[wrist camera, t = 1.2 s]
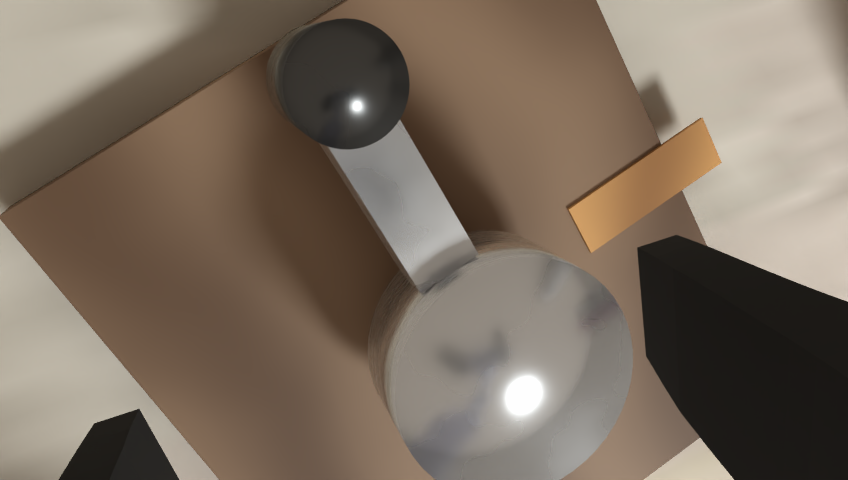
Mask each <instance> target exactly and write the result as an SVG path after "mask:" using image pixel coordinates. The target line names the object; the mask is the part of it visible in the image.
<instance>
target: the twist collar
mask: <svg viewBox="0 0 848 480" xmlns="http://www.w3.org/2000/svg"><path fill="white" fill-rule="evenodd" d="M266 84H267V90H268V94H269V96H270V99H271V101H272V103H273V105H274V107H275V108H276V110H277V111H278V112H279V114H280V115H281V116H282V117H283V118H284V119H286V120H287V121H288V122H289V123H291V124H292V125H293V126H295V127H296V128H298V129H299V130H300V131H302V132H303V133H304V134H306V135H307V136H309V137H310V138H311V139H313V140H315V141H316V142H318V143H319V144H320V145H321V147H322V148H323V150H324V152H325V153H326V155H327V156H328V158H329V159H330V161H331V163H332V164H333V166H334V167H335V169H336V170H337V172H338V174H339V175H340V177H341V178H342V180H343V181H344V183H345V185H346V186H347V188H348V189H349V191H350V192H351V194H352V196H353V197H354V199H355V200H356V202H357V203H358V205H359V207H360V208H361V210H362V211H363V213H364V214H365V216H366V218H367V219H368V221H369V222H370V224H371V226H372V227H373V229H374V230H375V232H376V233H377V235H378V237H379V238H380V240H381V241H382V243H383V244H384V246H385V248H386V249H387V251H388V252H389V254H390V255H391V257H392V259H393V260H394V262H395V263H396V265H397V266H398V268H399V271H398V273H397V274H396V275H395V276H394V278H393V279H392V280H391V281H390V283H389V284H388V286H387V287H386V289H385V291H384V292H383V294H382V296H381V298H380V300H379V302H378V304H377V306H376V309H375V311H374V315H373V318H372V321H371V325H370V330H369V336H368V362H369V369H370V373H371V377H372V381H373V383H374V386H375V388H376V391H377V393H378V395H379V397H380V399H381V400H382V402H383V404H384V406H385V408H386V410H387V411H388V413H389V415H390V417H391V419H392V420H393V422H394V424H395V426H396V428H397V429H398V431H399V433H400V435H401V437H402V439H403V440H404V442H405V444H406V446H407V447H408V449H409V451H410V452H411V454H412V456H413V457H414V459H415V460H416V461H417V462H418V463H419V465H420V466H421V467H422V468H423V469H424V470H425V471H426V472H427V473H428V474H430V475H431V476H432V477H433V478H434V479H436V480H560V479H562V478H563V477H565V476H566V475H568V474H569V473H571V472H572V471H574V470H575V469H576V468H577V467H579V466H580V465H581V464H582V463H584V462H585V461H586V460H587V459H588V458H589V457H590V456H591V455H592V454H593V453H594V452H595V451H596V450H597V449H598V447H599V446H600V445H601V444H602V442H603V441H604V440H605V439H606V437H607V436H608V434H609V433H610V431H611V430H612V428H613V426H614V425H615V423H616V421H617V419H618V417H619V415H620V413H621V411H622V409H623V406H624V403H625V401H626V398H627V395H628V391H629V387H630V383H631V377H632V368H633V349H632V341H631V335H630V331H629V328H628V324H627V321H626V319H625V316H624V314H623V312H622V309H621V308H620V306H619V304H618V303H617V301H616V300H615V298H614V296H613V295H612V294H611V293H610V292H609V291H608V289H607V288H606V287H605V286H604V285H603V284H602V283H601V282H599V281H598V280H597V279H596V278H595V277H594V276H592V275H590V274H589V273H587V272H586V271H584V270H582V269H581V268H579V267H577V266H575V265H574V264H572V263H570V262H568V261H566V260H565V259H563V258H561V257H559V256H557V255H556V254H554V253H552V252H550V251H549V250H547V249H545V248H543V247H541V246H540V245H538V244H536V243H534V242H532V241H531V240H528V239H526V238H524V237H521V236H519V235H515V234H512V233H508V232H503V231H495V230H477V231H470V232H465V230H464V228H463V227H462V225H461V223H460V221H459V220H458V218H457V216H456V215H455V213H454V211H453V209H452V208H451V206H450V204H449V203H448V201H447V199H446V197H445V196H444V194H443V192H442V191H441V189H440V187H439V185H438V184H437V182H436V180H435V179H434V177H433V175H432V173H431V172H430V170H429V168H428V167H427V165H426V163H425V162H424V160H423V158H422V156H421V155H420V153H419V151H418V150H417V148H416V146H415V144H414V143H413V141H412V139H411V138H410V136H409V134H408V132H407V131H406V129H405V127H404V126H403V124H402V122H401V120H400V118H401V117H402V115H403V113H404V110H405V108H406V105H407V101H408V96H409V87H410V82H409V73H408V68H407V65H406V62H405V59H404V57H403V55H402V53H401V51H400V49H399V48H398V46H397V45H396V43H395V42H394V41H393V40H392V39H391V38H390V37H389V36H388V35H387V34H386V33H385V32H384V31H382V30H381V29H379V28H378V27H376V26H374V25H372V24H370V23H368V22H365V21H362V20H357V19H349V18H342V19H334V20H329V21H324V22H319V23H314V24H309V25H304V26H301V27H298V28H296V29H294V30H292V31H291V32H289V33H288V34H286V35H285V36H284V37H283V38H282V39H281V40H280V41H279V42H278V43H277V45H276V46H275V48H274V49H273V51H272V53H271V55H270V57H269V60H268V64H267V70H266Z"/></svg>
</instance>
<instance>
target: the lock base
mask: <svg viewBox="0 0 848 480" xmlns="http://www.w3.org/2000/svg"><path fill="white" fill-rule="evenodd" d="M342 18H349V19H357V20H362V21H365V22H368V23H370V24H372V25H374V26H376V27H378V28H379V29H381V30H382V31H384V32H385V33H386V34H387V35H388V36H389V37H390V38H391V39H392V40H393V41H394V42H395V43H396V45H397V46H398V48H399V49H400V51H401V53H402V55H403V57H404V59H405V62H406V65H407V68H408V73H409V82H410V87H409V96H408V101H407V105H406V108H405V110H404V113H403V115H402V117H401V118H400V120H401V122H402V124H403V126H404V127H405V129H406V131H407V132H408V134H409V136H410V138H411V139H412V141H413V143H414V144H415V146H416V148H417V150H418V151H419V153H420V155H421V156H422V158H423V160H424V162H425V163H426V165H427V167H428V168H429V170H430V172H431V173H432V175H433V177H434V179H435V180H436V182H437V184H438V185H439V187H440V189H441V191H442V192H443V194H444V196H445V197H446V199H447V201H448V203H449V204H450V206H451V208H452V209H453V211H454V213H455V215H456V216H457V218H458V220H459V221H460V223H461V225H462V227H463V228H464V230H465V232H470V231H477V230H495V231H503V232H508V233H512V234H515V235H519V236H521V237H524V238H526V239H528V240H531V241H532V242H534V243H536V244H538V245H540V246H541V247H543V248H545V249H547V250H549V251H550V252H552V253H554V254H556V255H557V256H559V257H561V258H563V259H565V260H566V261H568V262H570V263H572V264H574V265H575V266H577V267H579V268H581V269H582V270H584V271H586V272H587V273H589V274H590V275H592V276H594V277H595V278H596V279H597V280H598V281H599V282H601V283H602V284H603V285H604V286H605V287H606V288H607V289H608V291H609V292H610V293H611V294H612V295H613V296H614V298H615V300H616V301H617V303H618V304H619V306H620V308H621V309H622V312H623V314H624V316H625V319H626V321H627V324H628V328H629V331H630V335H631V341H632V349H633V368H632V377H631V383H630V387H629V391H628V395H627V398H626V401H625V403H624V406H623V409H622V411H621V413H620V415H619V417H618V419H617V421H616V423H615V425H614V426H613V428H612V430H611V431H610V433H609V434H608V436H607V437H606V439H605V440H604V441H603V442H602V444H601V445H600V446H599V447H598V449H597V450H596V451H595V452H594V453H593V454H592V455H591V456H590V457H589V458H588V459H587V460H586V461H585V462H584V463H582V464H581V465H580V466H579V467H577V468H576V469H575V470H574V471H572V472H571V473H569V474H568V475H566V476H565V477H563V478H562V479H560V480H643V479H645V478H646V477H648V476H649V475H650V474H652V473H653V472H654V471H656V470H657V469H658V468H660V467H661V466H662V465H664V464H665V463H666V462H668V461H669V460H670V459H672V458H673V457H674V456H676V455H677V454H678V453H680V452H681V451H682V450H684V449H685V448H686V447H688V446H689V445H690V444H692V443H693V442H694V441H696V440H697V439H698V438H700V437H699V435H698V434H697V433H696V432H695V430H694V429H693V428H692V427H691V425H690V424H689V423H688V421H687V420H686V419H685V418H684V416H683V415H682V414H681V413H680V411H679V409H678V408H677V406H676V405H675V403H674V401H673V400H672V398H671V397H670V395H669V394H668V392H667V390H666V389H665V387H664V386H663V384H662V382H661V380H660V379H659V377H658V375H657V374H656V372H655V370H654V369H653V367H652V365H651V364H650V362H649V360H648V359H647V357H646V350H645V338H644V326H643V314H642V302H641V289H640V277H639V265H638V253H637V247H640V246H643V245H646V244H650V243H653V242H656V241H659V240H662V239H665V238H668V237H671V236H674V235H679V236H682V237H684V238H687V239H690V240H693V241H695V242H698V243H700V244H703V245H705V246H707V245H706V243H705V241H704V238H703V236H702V234H701V232H700V229H699V227H698V225H697V223H696V221H695V218H694V216H693V214H692V212H691V209H690V207H689V205H688V203H687V201H686V198H685V196H684V194H683V192H682V190H683V189H684V188H686V187H687V186H688V185H690V184H691V183H693V182H694V181H696V180H697V179H699V178H700V177H701V176H703V175H704V174H706V173H707V172H709V171H710V170H711V169H713V168H714V167H716V166H717V165H719V164H720V163H721V160H720V158H719V156H718V153H717V151H716V149H715V146H714V144H713V141H712V139H711V137H710V134H709V132H708V130H707V127H706V125H705V123H704V120H703V118H699V119H698V120H696V121H695V122H694V123H692V124H691V125H689V126H688V127H686V128H685V129H683V130H682V131H680V132H679V133H677V134H676V135H675V136H673V137H672V138H670V139H669V140H667V141H666V142H664V143H663V144H661V143H660V141H659V139H658V136H657V134H656V132H655V130H654V128H653V125H652V123H651V121H650V119H649V116H648V114H647V112H646V110H645V108H644V105H643V103H642V101H641V99H640V97H639V94H638V92H637V90H636V88H635V85H634V83H633V81H632V79H631V77H630V74H629V72H628V70H627V68H626V66H625V63H624V61H623V59H622V57H621V54H620V52H619V50H618V48H617V46H616V43H615V41H614V39H613V37H612V34H611V32H610V30H609V28H608V26H607V23H606V21H605V19H604V17H603V15H602V12H601V10H600V8H599V6H598V3H597V1H596V0H343V1H342V2H340V3H339V4H337V5H335V6H334V7H332V8H331V9H329V10H327V11H326V12H324V13H322V14H321V15H319V16H318V17H316V18H314V19H313V20H311V21H310V22H308V23H306V24H305V25H309V24H314V23H319V22H324V21H329V20H334V19H342ZM303 26H304V25H303ZM280 40H281V39H280ZM280 40H279V41H280ZM279 41H277V42H276V43H274V44H272V45H271V46H269V47H268V48H266V49H264V50H263V51H261V52H259V53H258V54H256V55H255V56H253V57H251V58H250V59H248V60H246V61H245V62H243V63H242V64H240V65H238V66H237V67H235V68H234V69H232V70H230V71H229V72H227V73H225V74H224V75H222V76H221V77H219V78H217V79H216V80H214V81H213V82H211V83H209V84H208V85H206V86H204V87H203V88H201V89H200V90H198V91H196V92H195V93H193V94H192V95H190V96H188V97H187V98H185V99H183V100H182V101H180V102H179V103H177V104H175V105H174V106H172V107H171V108H169V109H167V110H166V111H164V112H162V113H161V114H159V115H158V116H156V117H154V118H153V119H151V120H150V121H148V122H146V123H145V124H143V125H141V126H140V127H138V128H137V129H135V130H133V131H132V132H130V133H129V134H127V135H125V136H124V137H122V138H120V139H119V140H117V141H116V142H114V143H112V144H111V145H109V146H108V147H106V148H104V149H103V150H101V151H99V152H98V153H96V154H95V155H93V156H91V157H90V158H88V159H87V160H85V161H83V162H82V163H80V164H78V165H77V166H75V167H74V168H72V169H70V170H69V171H67V172H66V173H64V174H62V175H61V176H59V177H57V178H56V179H54V180H53V181H51V182H49V183H48V184H46V185H45V186H43V187H41V188H40V189H38V190H36V191H35V192H33V193H32V194H30V195H28V196H27V197H25V198H24V199H22V200H20V201H19V202H17V203H15V204H14V205H12V206H11V207H9V208H8V209H7V210H6V211H5V212H3V213H2V214H1V215H0V219H1V221H2V222H3V223H4V224H5V225H6V227H7V228H8V229H9V230H10V231H11V233H12V234H13V235H14V236H15V237H16V238H17V240H18V241H19V242H20V243H21V244H22V246H23V247H24V248H25V249H26V250H27V252H28V253H29V254H30V255H31V256H32V257H33V259H34V260H35V261H36V262H37V263H38V265H39V266H40V267H41V268H42V269H43V271H44V272H45V273H46V274H47V275H48V276H49V278H50V279H51V280H52V281H53V282H54V284H55V285H56V286H57V287H58V288H59V290H60V291H61V292H62V293H63V294H64V296H65V297H66V298H67V299H68V300H69V301H70V303H71V304H72V305H73V306H74V307H75V309H76V310H77V311H78V312H79V313H80V315H81V316H82V317H83V318H84V319H85V320H86V322H87V323H88V324H89V325H90V326H91V328H92V329H93V330H94V331H95V332H96V334H97V335H98V336H99V337H100V338H101V340H102V341H103V342H104V343H105V344H106V345H107V347H108V348H109V349H110V350H111V351H112V353H113V354H114V355H115V356H116V357H117V359H118V360H119V361H120V362H121V363H122V364H123V366H124V367H125V368H126V369H127V370H128V372H129V373H130V374H131V375H132V376H133V378H134V379H135V380H136V381H137V382H138V383H139V385H140V386H141V387H142V388H143V389H144V391H145V392H146V393H147V394H148V395H149V397H150V398H151V399H152V400H153V401H154V403H155V404H156V405H157V406H158V407H159V408H160V410H161V411H162V412H163V413H164V414H165V416H166V417H167V418H168V419H169V420H170V422H171V423H172V424H173V425H174V426H175V427H176V429H177V430H178V431H179V432H180V433H181V435H182V436H183V437H184V438H185V439H186V441H187V442H188V443H189V444H190V445H191V447H192V448H193V449H194V450H195V451H196V452H197V454H198V455H199V456H200V457H201V458H202V460H203V461H204V462H205V463H206V464H207V466H208V467H209V468H210V469H211V470H212V471H213V473H214V474H215V475H216V476H217V477H218V479H219V480H436V479H434V478H433V477H432V476H431V475H430V474H428V473H427V472H426V471H425V470H424V469H423V468H422V467H421V466H420V465H419V463H418V462H417V461H416V460H415V459H414V457H413V456H412V454H411V452H410V451H409V449H408V447H407V446H406V444H405V442H404V440H403V439H402V437H401V435H400V433H399V431H398V429H397V428H396V426H395V424H394V422H393V420H392V419H391V417H390V415H389V413H388V411H387V410H386V408H385V406H384V404H383V402H382V400H381V399H380V397H379V395H378V393H377V391H376V388H375V386H374V383H373V381H372V377H371V373H370V369H369V362H368V336H369V330H370V325H371V321H372V318H373V315H374V311H375V309H376V306H377V304H378V302H379V300H380V298H381V296H382V294H383V292H384V291H385V289H386V287H387V286H388V284H389V283H390V281H391V280H392V279H393V278H394V276H395V275H396V274H397V273H398V271H399V268H398V266H397V265H396V263H395V262H394V260H393V259H392V257H391V255H390V254H389V252H388V251H387V249H386V248H385V246H384V244H383V243H382V241H381V240H380V238H379V237H378V235H377V233H376V232H375V230H374V229H373V227H372V226H371V224H370V222H369V221H368V219H367V218H366V216H365V214H364V213H363V211H362V210H361V208H360V207H359V205H358V203H357V202H356V200H355V199H354V197H353V196H352V194H351V192H350V191H349V189H348V188H347V186H346V185H345V183H344V181H343V180H342V178H341V177H340V175H339V174H338V172H337V170H336V169H335V167H334V166H333V164H332V163H331V161H330V159H329V158H328V156H327V155H326V153H325V152H324V150H323V148H322V147H321V145H320V144H319V143H318V142H316V141H315V140H313V139H311V138H310V137H309V136H307V135H306V134H304V133H303V132H302V131H300V130H299V129H298V128H296V127H295V126H293V125H292V124H291V123H289V122H288V121H287V120H286V119H284V118H283V117H282V116H281V115H280V114H279V112H278V111H277V110H276V108H275V107H274V105H273V103H272V101H271V99H270V96H269V94H268V90H267V84H266V70H267V64H268V60H269V57H270V55H271V53H272V51H273V49H274V48H275V46H276V45H277V43H278V42H279Z"/></svg>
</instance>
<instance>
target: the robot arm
mask: <svg viewBox="0 0 848 480" xmlns="http://www.w3.org/2000/svg"><path fill="white" fill-rule="evenodd" d="M637 253H638V265H639V277H640V289H641V302H642V314H643V326H644V338H645V350H646V357H647V359H648V360H649V362H650V364H651V365H652V367H653V369H654V370H655V372H656V374H657V375H658V377H659V379H660V380H661V382H662V384H663V386H664V387H665V389H666V390H667V392H668V394H669V395H670V397H671V398H672V400H673V401H674V403H675V405H676V406H677V408H678V409H679V411H680V413H681V414H682V415H683V416H684V418H685V419H686V420H687V421H688V423H689V424H690V425H691V427H692V428H693V429H694V430H695V432H696V433H697V434H698V435H699V437H700V438H701V439H702V440H703V442H704V443H705V444H706V445H707V447H708V448H709V449H710V450H711V452H712V453H713V454H714V455H715V457H716V458H717V459H718V460H719V461H720V463H721V464H722V465H723V466H724V468H725V469H726V470H727V471H728V473H729V474H730V475H731V476H732V477H733V479H734V480H848V302H847V301H844V300H841V299H838V298H836V297H833V296H830V295H827V294H825V293H822V292H819V291H817V290H814V289H812V288H809V287H806V286H804V285H801V284H799V283H796V282H794V281H791V280H788V279H786V278H783V277H781V276H778V275H776V274H774V273H771V272H769V271H766V270H764V269H761V268H759V267H756V266H754V265H752V264H749V263H747V262H744V261H742V260H739V259H737V258H735V257H732V256H730V255H727V254H725V253H722V252H720V251H718V250H715V249H713V248H710V247H708V246H705V245H703V244H700V243H698V242H695V241H693V240H690V239H687V238H684V237H682V236H679V235H674V236H671V237H668V238H665V239H662V240H659V241H656V242H653V243H650V244H646V245H643V246H640V247H637ZM59 480H179V478H178V477H177V475H176V473H175V471H174V470H173V468H172V466H171V464H170V462H169V461H168V459H167V457H166V455H165V454H164V452H163V450H162V448H161V447H160V445H159V443H158V441H157V439H156V438H155V436H154V434H153V432H152V431H151V429H150V427H149V425H148V424H147V422H146V420H145V418H144V416H143V415H142V413H141V411H140V409H137V410H134V411H131V412H128V413H125V414H122V415H119V416H116V417H113V418H110V419H107V420H104V421H100V422H97V423H94V425H93V426H92V428H91V429H90V431H89V432H88V434H87V435H86V437H85V438H84V440H83V442H82V443H81V445H80V446H79V448H78V449H77V451H76V453H75V454H74V456H73V457H72V459H71V461H70V462H69V464H68V466H67V467H66V469H65V470H64V472H63V474H62V475H61V477H60V478H59Z"/></svg>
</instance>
